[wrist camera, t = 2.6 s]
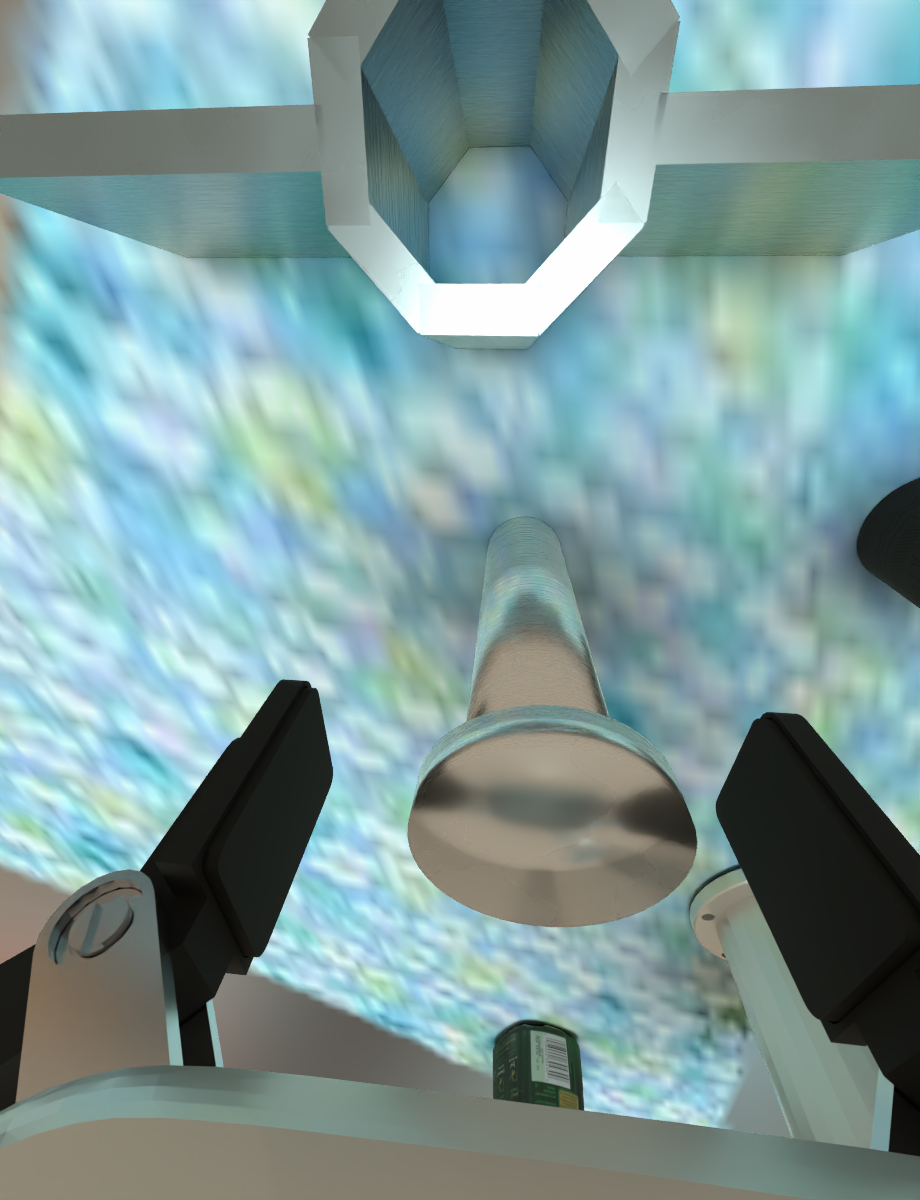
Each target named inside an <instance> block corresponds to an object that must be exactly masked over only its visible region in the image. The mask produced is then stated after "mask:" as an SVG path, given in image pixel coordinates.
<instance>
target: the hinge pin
mask: <svg viewBox="0 0 920 1200" xmlns="http://www.w3.org/2000/svg"><path fill="white" fill-rule="evenodd" d="M408 841H409V847H410V850H411V853H412V855H413V858H414V860H415V861H416V863H417V865H418V867H419V868H420V869H421V871H422V872H423V873H424V875H425V876H426V877H427V878H428V879H429V880H430V881H431V882H432V883H433V884H434V885H435V886H436V887H437V888H439V889H440V890H441V891H442V892H444V893H445V894H446V895H448V896H449V897H451V898H453V899H454V900H456V901H458V902H459V903H461V904H463V905H465V906H467V907H469V908H471V909H473V910H476V911H478V912H481V913H483V914H486V915H489V916H492V917H495V918H499V919H502V920H506V921H511V922H515V923H521V924H527V925H534V926H546V927H575V926H587V925H595V924H601V923H605V922H610V921H615V920H618V919H621V918H625V917H628V916H631V915H633V914H636V913H638V912H641V911H643V910H645V909H647V908H649V907H651V906H653V905H655V904H656V903H658V902H659V901H661V900H662V899H664V898H665V897H667V896H668V895H669V894H670V893H671V892H673V891H674V890H675V889H676V888H677V887H678V886H679V885H680V883H681V882H682V881H683V880H684V879H685V877H686V876H687V874H688V872H689V871H690V869H691V867H692V865H693V862H694V859H695V856H696V848H697V837H696V830H695V827H694V824H693V821H692V818H691V816H690V813H689V811H688V808H687V806H686V803H685V801H684V798H683V796H682V793H681V791H680V788H679V786H678V784H677V781H676V779H675V776H674V774H673V771H672V769H671V767H670V765H669V764H668V762H667V760H666V759H665V757H664V756H663V755H662V753H661V752H660V751H659V750H658V749H657V747H656V746H655V745H654V744H652V743H651V742H650V741H649V740H648V739H647V738H646V737H644V736H643V735H642V734H640V733H639V732H637V731H636V730H634V729H632V728H631V727H629V726H627V725H625V724H623V723H621V722H619V721H617V720H615V719H613V718H610V717H609V714H608V710H607V707H606V703H605V700H604V696H603V693H602V689H601V686H600V682H599V679H598V675H597V672H596V668H595V665H594V661H593V658H592V654H591V651H590V648H589V644H588V641H587V637H586V634H585V630H584V627H583V623H582V620H581V616H580V613H579V609H578V606H577V602H576V599H575V595H574V592H573V588H572V585H571V581H570V578H569V574H568V571H567V567H566V564H565V560H564V557H563V553H562V550H561V546H560V543H559V540H558V537H557V535H556V533H555V532H554V530H553V529H552V528H551V527H550V526H549V525H547V524H546V523H545V522H543V521H541V520H539V519H536V518H532V517H519V518H514V519H511V520H509V521H507V522H505V523H503V524H502V525H501V526H499V527H498V528H497V529H496V530H495V532H494V533H493V535H492V536H491V538H490V541H489V544H488V551H487V559H486V567H485V576H484V584H483V592H482V600H481V608H480V616H479V625H478V633H477V641H476V649H475V657H474V665H473V673H472V682H471V690H470V698H469V706H468V714H467V722H465V723H464V724H462V725H460V726H458V727H457V728H455V729H453V730H452V731H451V732H449V733H448V734H447V735H445V736H444V737H443V738H442V739H441V740H440V741H439V742H438V743H437V744H436V745H435V746H434V747H433V748H432V750H431V751H430V753H429V754H428V755H427V757H426V758H425V761H424V763H423V765H422V767H421V770H420V774H419V778H418V782H417V786H416V791H415V795H414V800H413V804H412V809H411V813H410V818H409V822H408Z"/></svg>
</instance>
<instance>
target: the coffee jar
mask: <svg viewBox="0 0 920 1200" xmlns="http://www.w3.org/2000/svg"><path fill="white" fill-rule="evenodd" d="M493 1099H497V1100H505V1101H513V1102H521V1103H528V1104H536V1105H544V1106H552V1107H559V1108H567V1109H575V1110H583V1111H584V1099H583V1084H582V1071H581V1060H580V1050H579V1045H578V1044H577V1042H576V1041H575V1040H574V1039H573V1038H571V1037H570V1036H568V1035H567V1034H566V1033H565V1032H563V1031H562V1030H560V1029H558V1028H555V1027H552V1026H548V1025H544V1026H531V1025H526V1024H525V1025H520V1026H517V1027H516V1028H514V1029H512V1030H510V1031H509V1032H508V1033H506V1034H505V1035H504V1036H503V1037H502V1038H500V1039H499V1041H498V1042H497V1043H496V1045H495V1047H494V1050H493Z"/></svg>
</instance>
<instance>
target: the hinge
mask: <svg viewBox="0 0 920 1200" xmlns="http://www.w3.org/2000/svg"><path fill="white" fill-rule="evenodd" d="M679 17H680V16H679V15H678V13H677V11H676V9H675V7H674V5H673V3H672V2H671V0H326V2H325V4H324V6H323V7H322V9H321V11H320V13H319V15H318V17H317V19H316V21H315V22H314V24H313V26H312V28H311V30H310V32H309V34H308V35H309V36H310V38H308V47H309V57H310V67H311V77H312V87H313V97H314V105H287V106H257V107H227V108H197V109H167V110H137V111H107V112H77V113H46V114H16V115H0V193H1V194H4V195H7V196H10V197H13V198H16V199H19V200H21V201H24V202H27V203H30V204H33V205H36V206H39V207H42V208H45V209H48V210H50V211H53V212H56V213H59V214H62V215H65V216H68V217H71V218H74V219H76V220H79V221H82V222H85V223H88V224H91V225H94V226H97V227H100V228H102V229H105V230H108V231H111V232H114V233H117V234H120V235H123V236H126V237H129V238H131V239H134V240H137V241H140V242H143V243H146V244H149V245H152V246H155V247H157V248H160V249H163V250H166V251H169V252H172V253H175V254H178V255H181V256H184V257H186V258H220V257H352V258H353V259H354V260H355V261H356V262H357V263H358V265H359V266H360V267H361V268H362V269H363V270H364V272H365V273H366V274H367V275H368V276H369V277H370V279H371V280H372V281H373V282H374V283H375V284H376V286H377V287H378V288H379V289H380V290H381V291H382V293H383V294H384V295H385V296H386V297H387V298H388V299H389V301H390V302H391V303H392V304H393V305H394V306H395V308H396V309H397V310H398V311H399V312H400V313H401V315H402V316H403V317H404V318H405V319H406V320H407V322H408V323H409V324H410V325H411V326H412V327H413V329H414V330H415V331H416V332H417V333H418V334H420V335H422V336H425V337H427V338H430V339H432V340H435V341H438V342H440V343H443V344H445V345H448V346H451V347H453V348H456V349H520V350H526V349H528V348H529V347H530V346H531V345H532V344H533V343H534V342H535V341H536V340H537V339H538V338H539V337H540V336H541V335H542V334H543V333H544V332H545V330H546V329H547V328H548V327H549V326H550V325H551V324H552V323H553V322H554V321H555V320H556V319H557V318H558V317H559V316H560V315H561V314H562V313H563V312H564V311H565V310H566V309H567V308H568V307H569V306H570V304H571V303H572V302H573V301H574V300H575V299H576V298H577V297H578V296H579V295H580V294H581V293H582V292H583V291H584V290H585V289H586V288H587V287H588V286H589V285H590V284H591V283H592V281H593V280H594V279H595V278H596V277H597V276H598V275H599V274H600V273H601V272H602V271H603V270H604V269H605V268H606V267H607V265H608V264H609V263H610V262H611V261H612V260H613V259H614V258H615V257H616V256H766V255H846V254H849V253H851V252H854V251H857V250H860V249H863V248H866V247H869V246H872V245H875V244H878V243H881V242H884V241H887V240H889V239H892V238H895V237H898V236H901V235H904V234H907V233H910V232H913V231H916V230H919V229H920V84H917V85H887V86H857V87H827V88H797V89H767V90H737V91H707V92H677V93H668V91H669V85H670V79H671V73H672V67H673V61H674V55H675V49H676V43H677V37H678V31H679V25H680V21H678V19H679ZM493 146H531V148H532V149H533V151H534V152H535V153H536V155H537V156H538V158H539V159H540V161H541V162H542V164H543V165H544V167H545V168H546V170H547V171H548V173H549V174H550V176H551V177H552V178H553V180H554V181H555V183H556V184H557V186H558V187H559V189H560V190H561V192H562V193H563V195H564V196H565V198H566V199H567V201H568V208H567V218H566V228H565V237H564V241H563V242H562V243H561V244H560V245H559V246H558V247H557V248H556V250H555V251H554V252H553V253H552V254H551V255H550V256H549V257H548V259H547V260H546V261H545V262H544V263H543V264H542V265H541V266H540V267H539V269H538V270H537V271H536V272H535V273H534V274H533V275H532V276H531V278H530V279H529V280H528V281H527V282H526V283H525V284H437V283H436V281H435V280H434V279H433V278H432V277H431V275H430V274H429V221H428V203H429V202H430V200H431V199H432V198H433V196H434V195H435V193H436V192H437V191H438V189H439V188H440V187H441V185H442V184H443V183H444V181H445V180H446V178H447V177H448V176H449V174H450V173H451V172H452V170H453V169H454V168H455V166H456V165H457V163H458V162H459V161H460V159H461V158H462V157H463V155H464V154H465V153H466V151H467V150H468V148H469V147H493Z"/></svg>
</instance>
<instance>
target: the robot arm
mask: <svg viewBox="0 0 920 1200" xmlns="http://www.w3.org/2000/svg"><path fill="white" fill-rule="evenodd" d="M332 779H333V767H332V762H331V756H330V751H329V746H328V741H327V735H326V730H325V725H324V719H323V714H322V709H321V704H320V698H319V693H318V690H317V689H316V688H311V685H310V683H309V682H308V681H298V680H281V681H279V683H278V684H277V685H276V686H275V688H274V689H273V691H272V692H271V694H270V695H269V697H268V698H267V700H266V701H265V702H264V704H263V705H262V707H261V708H260V710H259V711H258V713H257V714H256V715H255V717H254V718H253V720H252V721H251V723H250V724H249V726H248V727H247V729H246V730H245V731H244V733H243V734H242V736H241V737H240V738H237V739H235V740H233V741H232V742H231V743H230V745H229V746H228V747H227V748H226V749H225V751H224V752H223V754H222V755H221V757H220V758H219V759H218V761H217V762H216V764H215V765H214V767H213V768H212V769H211V771H210V772H209V774H208V775H207V776H206V778H205V779H204V781H203V782H202V784H201V785H200V786H199V788H198V789H197V791H196V792H195V793H194V795H193V796H192V798H191V799H190V801H189V802H188V803H187V805H186V806H185V808H184V809H183V810H182V812H181V813H180V815H179V816H178V818H177V819H176V820H175V822H174V823H173V825H172V826H171V828H170V829H169V830H168V832H167V833H166V835H165V836H164V837H163V839H162V840H161V842H160V843H159V845H158V846H157V847H156V849H155V850H154V852H153V853H152V854H151V856H150V857H149V859H148V860H147V862H146V863H145V864H144V866H143V867H142V869H141V870H140V871H135V870H122V871H115V872H112V873H109V874H106V875H104V876H101V877H98V878H96V879H95V880H93V881H91V882H90V883H88V884H86V885H85V886H83V887H81V888H80V889H78V890H77V891H76V892H75V893H74V894H72V895H71V896H70V897H69V898H68V899H66V900H65V901H64V902H63V903H62V904H61V905H60V906H59V907H58V909H57V910H56V911H55V912H54V913H53V914H52V915H51V916H50V918H49V919H48V921H47V922H46V924H45V926H44V927H43V929H42V931H41V932H40V934H39V936H38V939H37V942H36V944H35V945H33V946H32V947H30V948H28V949H26V950H25V951H23V952H21V953H19V954H18V955H16V956H14V957H13V958H11V959H9V960H7V961H5V962H4V963H2V964H0V1200H920V855H919V854H918V853H917V852H916V850H915V849H914V848H913V847H912V846H911V844H910V843H909V842H908V841H907V840H906V838H905V837H904V836H903V835H902V834H901V832H900V831H899V830H898V829H897V828H896V827H895V825H894V824H893V823H892V822H891V821H890V819H889V818H888V817H887V816H886V815H885V813H884V812H883V811H882V810H881V809H880V807H879V806H878V805H877V804H876V803H875V801H874V800H873V799H872V798H871V797H870V795H869V794H868V793H867V792H866V791H865V790H864V788H863V787H862V786H861V785H860V784H859V782H858V781H857V780H856V779H855V778H854V776H853V775H852V774H851V773H850V772H849V770H848V769H847V768H846V767H845V766H844V764H843V763H842V762H841V761H840V760H839V758H838V757H837V756H836V755H835V754H834V752H833V751H832V750H831V749H830V748H829V747H828V745H827V744H826V743H825V742H824V741H823V739H822V738H821V737H820V736H819V735H818V733H817V732H816V731H815V730H814V729H813V727H812V726H811V725H810V724H809V723H808V721H807V720H806V719H805V718H804V717H802V716H801V715H798V714H789V713H774V712H766V713H765V714H763V715H762V717H761V718H760V719H756V720H754V722H753V723H752V725H751V728H750V730H749V732H748V734H747V736H746V738H745V740H744V743H743V745H742V747H741V749H740V751H739V753H738V756H737V758H736V760H735V762H734V764H733V766H732V768H731V771H730V773H729V775H728V777H727V779H726V781H725V784H724V786H723V788H722V790H721V792H720V794H719V796H718V799H717V801H716V813H717V817H718V819H719V822H720V824H721V826H722V828H723V830H724V832H725V835H726V837H727V839H728V841H729V843H730V845H731V847H732V849H733V852H734V854H735V856H736V858H737V860H738V862H739V864H740V867H741V868H740V869H737V870H734V871H731V872H729V873H727V874H725V875H723V876H721V877H718V878H716V879H715V880H714V881H712V882H711V883H709V884H708V885H706V886H705V887H704V888H703V889H702V890H701V891H700V892H699V893H698V894H697V895H696V897H695V899H694V901H693V902H692V904H691V908H690V913H689V915H690V921H691V925H692V927H693V930H694V933H695V936H696V938H697V940H698V941H699V942H700V944H701V945H702V946H703V947H704V948H706V949H707V950H708V951H709V952H711V953H712V954H714V955H716V956H717V957H719V958H721V959H723V960H726V961H727V962H728V965H729V968H730V970H731V973H732V976H733V978H734V981H735V984H736V987H737V989H738V992H739V995H740V998H741V1000H742V1003H743V1006H744V1008H745V1011H746V1014H747V1017H748V1019H749V1022H750V1025H751V1028H752V1030H753V1033H754V1036H755V1038H756V1041H757V1044H758V1047H759V1049H760V1052H761V1055H762V1057H763V1060H764V1063H765V1066H766V1068H767V1071H768V1074H769V1076H770V1079H771V1082H772V1084H773V1087H774V1090H775V1093H776V1096H777V1098H778V1101H779V1104H780V1107H781V1109H782V1112H783V1114H784V1117H785V1120H786V1123H787V1126H788V1128H789V1131H790V1134H791V1137H792V1138H786V1137H779V1136H772V1135H764V1134H757V1133H750V1132H741V1131H735V1130H727V1129H720V1128H712V1127H705V1126H698V1125H690V1124H683V1123H675V1122H667V1121H659V1120H652V1119H644V1118H636V1117H629V1116H621V1115H613V1114H606V1113H598V1112H590V1111H583V1110H575V1109H567V1108H559V1107H552V1106H544V1105H536V1104H528V1103H521V1102H513V1101H505V1100H497V1099H489V1098H481V1097H474V1096H465V1095H458V1094H450V1093H442V1092H433V1091H426V1090H418V1089H410V1088H401V1087H393V1086H385V1085H377V1084H368V1083H361V1082H353V1081H345V1080H337V1079H329V1078H321V1077H311V1076H302V1075H292V1074H282V1073H272V1072H263V1071H252V1070H243V1069H232V1068H224V1067H223V1061H222V1055H221V1049H220V1043H219V1037H218V1031H217V1025H216V1019H215V1013H214V1007H213V1001H212V998H214V997H215V995H216V993H217V990H218V988H219V986H220V984H221V982H222V979H223V977H224V975H225V973H231V974H239V975H246V974H247V972H248V969H249V967H250V964H251V962H252V960H253V957H260V956H261V955H262V954H263V952H264V950H265V949H266V946H267V944H268V942H269V939H270V937H271V934H272V932H273V929H274V927H275V924H276V922H277V919H278V917H279V914H280V912H281V909H282V907H283V904H284V902H285V899H286V897H287V894H288V892H289V889H290V887H291V884H292V882H293V879H294V877H295V874H296V872H297V869H298V867H299V864H300V862H301V859H302V857H303V854H304V852H305V849H306V847H307V844H308V842H309V839H310V837H311V834H312V832H313V829H314V827H315V824H316V822H317V819H318V817H319V814H320V812H321V809H322V807H323V804H324V802H325V799H326V797H327V794H328V792H329V789H330V786H331V783H332Z"/></svg>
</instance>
